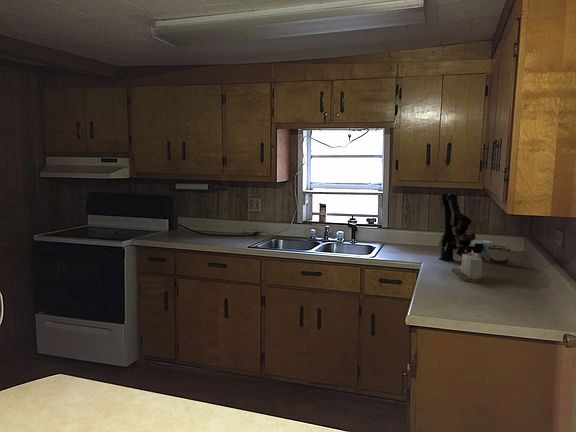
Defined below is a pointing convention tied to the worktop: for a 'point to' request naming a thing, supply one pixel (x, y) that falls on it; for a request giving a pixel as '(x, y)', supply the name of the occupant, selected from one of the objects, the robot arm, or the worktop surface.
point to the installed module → (473, 267)
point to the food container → (499, 255)
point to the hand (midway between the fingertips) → (466, 261)
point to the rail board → (466, 278)
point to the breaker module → (464, 257)
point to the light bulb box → (485, 252)
